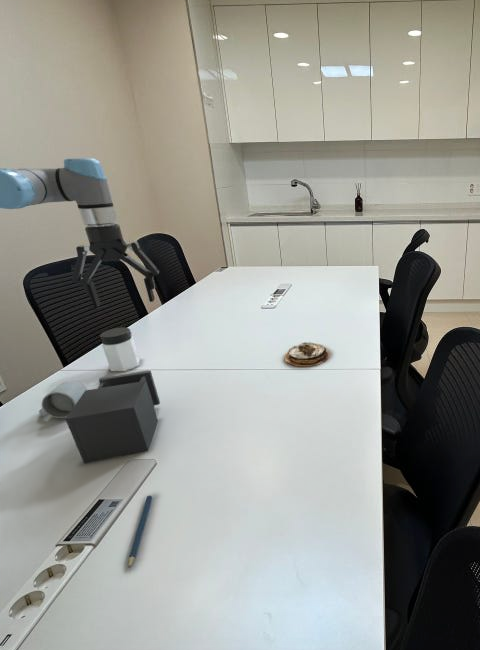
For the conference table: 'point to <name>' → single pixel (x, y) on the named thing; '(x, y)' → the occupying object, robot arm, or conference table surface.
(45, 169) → the robot arm
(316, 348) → the layered cake
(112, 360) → the jar
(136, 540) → the pencil
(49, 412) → the ceramic mug
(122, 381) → the basket
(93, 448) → the dark grey cube
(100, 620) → the conference table surface
